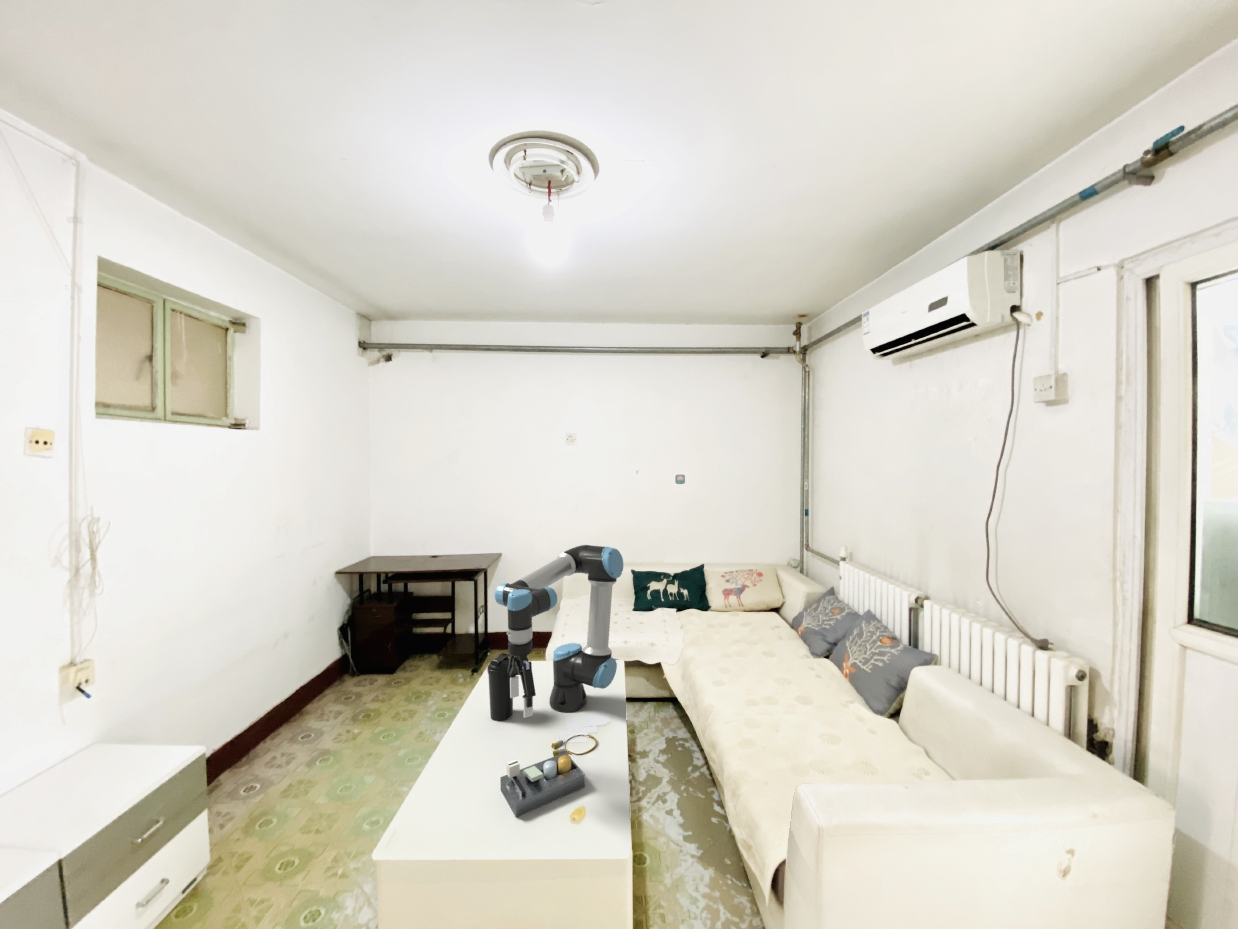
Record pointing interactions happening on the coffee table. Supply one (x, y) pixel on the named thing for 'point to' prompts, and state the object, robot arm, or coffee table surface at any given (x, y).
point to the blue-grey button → (550, 770)
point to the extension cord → (560, 751)
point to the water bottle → (500, 688)
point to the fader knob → (513, 768)
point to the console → (540, 787)
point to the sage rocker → (533, 773)
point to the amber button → (564, 764)
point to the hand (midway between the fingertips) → (521, 706)
